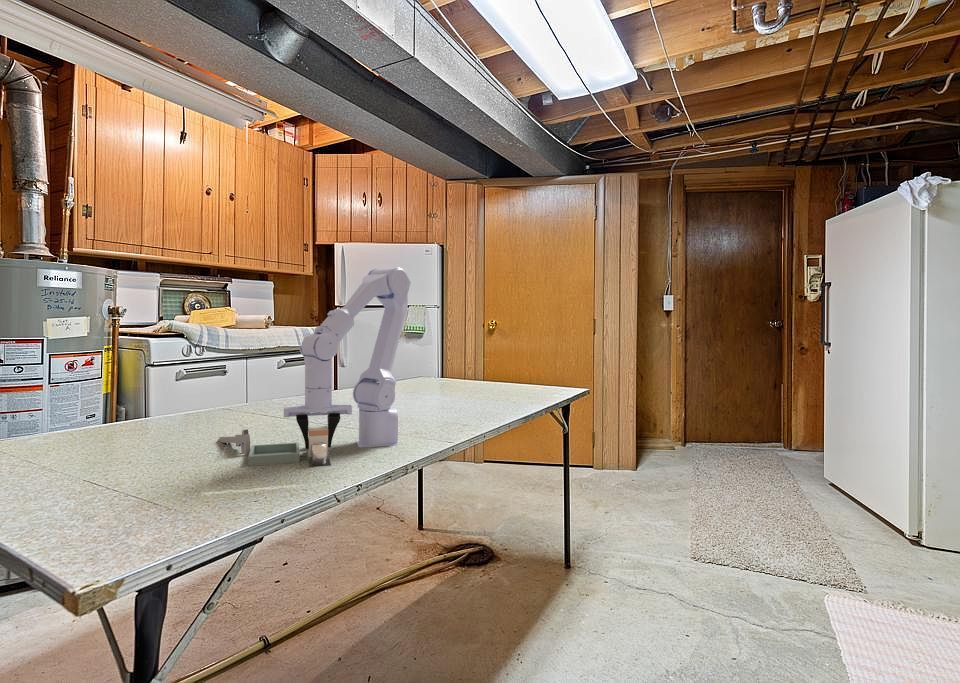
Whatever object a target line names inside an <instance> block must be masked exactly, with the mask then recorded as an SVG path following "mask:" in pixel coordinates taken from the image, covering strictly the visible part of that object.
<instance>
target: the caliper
mask: <svg viewBox="0 0 960 683" xmlns="http://www.w3.org/2000/svg"><path fill="white" fill-rule="evenodd" d="M250 436H251V435H250V433H249V429H248V428H247V429H241V433H239V434H235V435H233V436H232V435H229V436H228V435H227V436H225V435H224V436H219V438H218V439H217V441H218V442H220V443H221V442H222V443H221V444H227V443H228V444H229V443H230V444H235V447H240V449H241V450H240V451H241V453H242V455H244V456H249V453H250V450H251V438H250Z"/></svg>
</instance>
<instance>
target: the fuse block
mask: <svg viewBox="0 0 960 683" xmlns="http://www.w3.org/2000/svg"><path fill="white" fill-rule="evenodd" d="M306 452H307V460H308V467H309V468H317V467H319V468H320V467H331V466H332V464H331V459H330V455H329V454H328V456H327V443H314V444H312V449H311V457H309V453H308V449H306Z"/></svg>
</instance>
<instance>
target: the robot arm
mask: <svg viewBox="0 0 960 683" xmlns="http://www.w3.org/2000/svg"><path fill="white" fill-rule="evenodd" d="M410 286H411V280H410V278H409V275H408V273H407V272H406V270H405V269H404V268H402V267H399V266H396V267H391V268H373V269H370V270H369V271H368V272H367V274H366V275H365V276H363V278H362V282H361V284H360V285H359V286H358V288H357V289H356V290H355V292H354V293H353V294H352V295H351V297H350V298H349V299H348V300H347V302H346V303H345V304H344V306H343V307H342V308H335V309H333V310H329V311H328V313H327V317H326V318H325V319H324V320H323V322H322V323H321V324H320V325H319V326H316V327H315V328H314V333H309V334H308V335H305V337H304V338H303V340H302V341H301V345H299V347H298V348H299V352H300V354H301V355H302V357H303V358H304V360H303V364H304V405H299V406H297V405H296V406H287V407H283V418H284V419H285V418H290V417H293V418H294V417H295V418H296V419H295V420H296V423H297V425H298V426H299V429H300V431H301V433H302V436H303V441H304V444H305V445H304V446H305V447H304V448H305V450H307V449H309V434H308V427H309V417H313V416H327V427H328V449H330V448H332V441H333V438H334V434H335V431H336V429H337V427H338V425H339V423H340V421H341V415H348V416H349V415H352V414H353V406H352V404H332V403H333V401H332V397H333V396H332V394H333V393H332V392H333V391H332V389H333V387H332V386H333V384H332V383H333V381H332V380H333V376H332V374H333V371H332V370H333V368H332V367H333V357H335V356H337V354H338V350H339V345H340V343H341V341H342V340H343V339H344V338H345V336H346V335H347V334H348V333H349V332H350V331H351V330H352V328H354V326H355V318H356V316H357V315H359V314H360V313H361V311H362V310H363V309H364V308H365V307H366V306H367V305H368V304H369V303H370V302H371V301H372V300H373V299H374V298H376V299H377V301H378V302H380V303H381V304H382V306H383V307H384V310H383V313H382V314H383V315H382V318H381V321H380V326H379V329H378V331H377V332H378V333H377V337H376V340H375V343H374V348H373V351H372V355H371V359H370V361H369V365H368V368H367V369H366V370H365V371H363V372H362V373H361V374H360V375H359V379H358V381H357V382H356V384H355V385H354V387H353V389H352V398H353V400H354V402H355V403H356V404H357V408H358V438H356V439H355V442H356V444H357V446H358V448H374V447H389V446H398V445H399V442H398V441H399V436H398V435H399V415H398V414H399V413H398V411H397V408H395V407H392V406H393V404H394V403H395V400H396V385H397V381H396V379H395V378H394V376H393V375H392V373H391V372H392V368H393V365H394V361H395V358H396V354H397V351H398V350H397V349H398V346H399V343H400V337H401V334H402V331H403V326H404V324H405V321H406V320H405V319H406V316H407V311H408V307H409V304H408V303H409V299H408V298H409V297H408V296H409V295H408V294H409V291H410Z"/></svg>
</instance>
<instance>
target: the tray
mask: <svg viewBox="0 0 960 683" xmlns="http://www.w3.org/2000/svg"><path fill="white" fill-rule="evenodd" d="M300 454H301V453H300V442H286V443H284V442H282V443H271V444H267V443H266V444H254V445H252V444H251V446H250V453H249V455H247V456H248V457H247V458H248V460H247V461H248V462H247V465H248V466H249V467H251V466H261V465H262V466H263V465H275V464H276V465H277V464H287V463H289V464H290V463H291V464H292V463H300V458H301V457H300Z"/></svg>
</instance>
